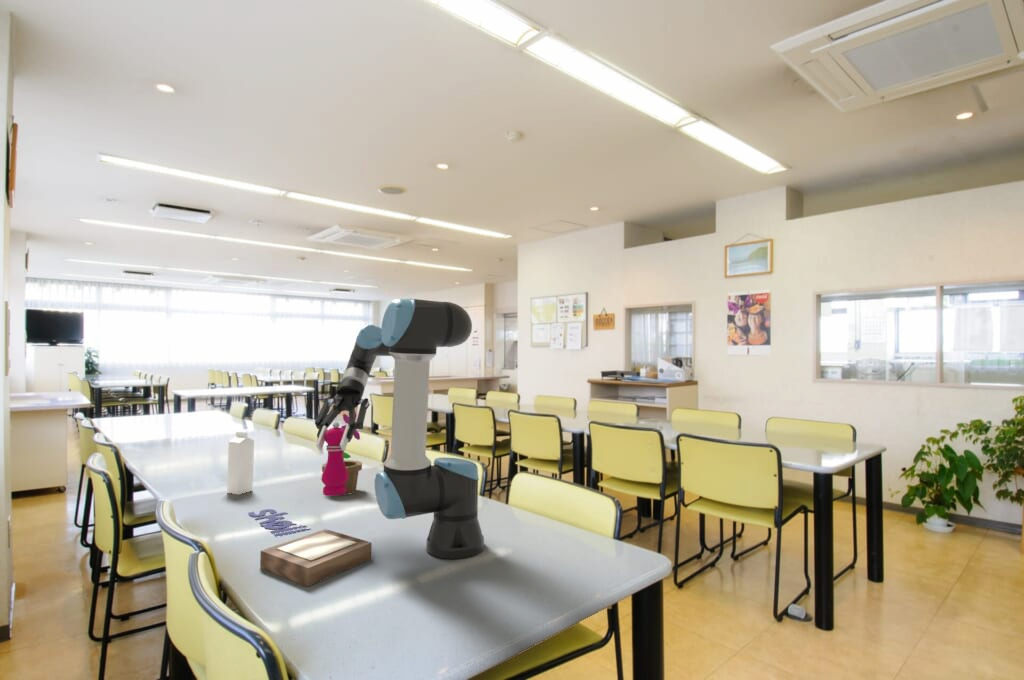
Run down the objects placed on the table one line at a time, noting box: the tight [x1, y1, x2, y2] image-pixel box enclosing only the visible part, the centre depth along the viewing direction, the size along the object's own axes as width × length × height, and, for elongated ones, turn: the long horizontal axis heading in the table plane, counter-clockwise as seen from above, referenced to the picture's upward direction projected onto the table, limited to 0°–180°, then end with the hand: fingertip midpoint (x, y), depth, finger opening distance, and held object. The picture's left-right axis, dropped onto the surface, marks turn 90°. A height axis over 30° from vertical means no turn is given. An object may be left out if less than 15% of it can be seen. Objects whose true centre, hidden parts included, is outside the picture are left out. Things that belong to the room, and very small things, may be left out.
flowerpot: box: [321, 410, 363, 496], centre depth 185 cm, size 14×14×30 cm
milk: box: [226, 431, 255, 496], centre depth 184 cm, size 6×6×22 cm
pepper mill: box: [320, 421, 348, 497], centre depth 140 cm, size 7×7×20 cm
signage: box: [247, 508, 310, 538], centre depth 151 cm, size 28×1×10 cm
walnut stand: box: [259, 528, 373, 587], centre depth 120 cm, size 18×18×4 cm
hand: (330, 447), depth 137 cm, fingers closed on pepper mill, 6 cm apart
